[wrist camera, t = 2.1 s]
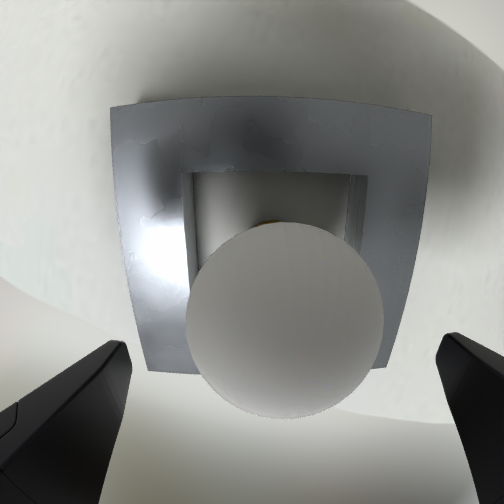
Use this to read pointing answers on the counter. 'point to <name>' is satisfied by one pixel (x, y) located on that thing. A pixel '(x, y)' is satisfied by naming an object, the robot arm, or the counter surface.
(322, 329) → the light bulb
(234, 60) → the counter surface
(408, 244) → the socket collar
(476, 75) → the counter surface
